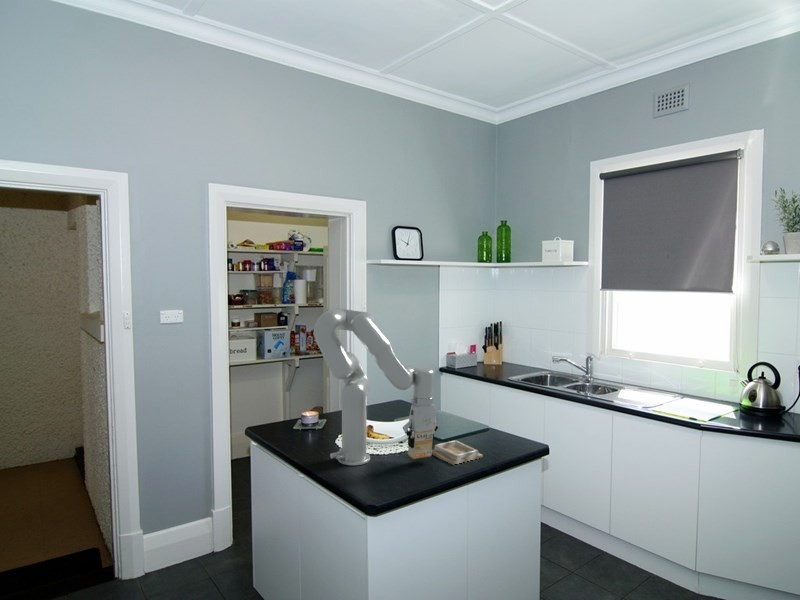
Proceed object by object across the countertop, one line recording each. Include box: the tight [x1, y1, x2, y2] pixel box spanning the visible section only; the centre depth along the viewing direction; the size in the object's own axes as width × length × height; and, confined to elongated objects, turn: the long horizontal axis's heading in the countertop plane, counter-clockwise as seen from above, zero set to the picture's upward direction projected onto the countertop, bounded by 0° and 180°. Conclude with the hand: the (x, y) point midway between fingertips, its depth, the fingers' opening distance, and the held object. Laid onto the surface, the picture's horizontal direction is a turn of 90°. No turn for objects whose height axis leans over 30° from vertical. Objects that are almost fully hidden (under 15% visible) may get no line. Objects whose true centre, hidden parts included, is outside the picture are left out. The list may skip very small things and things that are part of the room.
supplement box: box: [407, 425, 433, 460], centre depth 192 cm, size 8×5×13 cm, turn 118°
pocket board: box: [431, 440, 484, 466], centre depth 201 cm, size 15×15×3 cm
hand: (420, 445), depth 192 cm, fingers closed on supplement box, 8 cm apart
